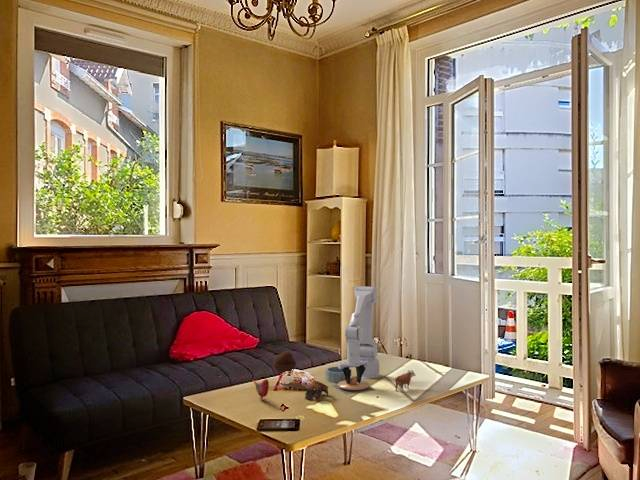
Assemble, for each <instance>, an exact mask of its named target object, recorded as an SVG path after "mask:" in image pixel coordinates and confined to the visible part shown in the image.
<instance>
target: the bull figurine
mask: <svg viewBox="0 0 640 480" xmlns="http://www.w3.org/2000/svg"><path fill="white" fill-rule="evenodd" d="M413 377H416V373H415V371H414V370H413V369H410V370H409V369H408V370H406V371H405V372H403V373H402V374H400V375H398V376H397V377H395V379H394V381H395V386H394V387H395V392H398V387H399V390H400V391H401V392H405V389H404V388H406V389H407V390H409V389H410V387H409V386H410V384H411V380H412V379H411V378H413Z"/></svg>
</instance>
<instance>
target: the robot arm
mask: <svg viewBox="0 0 640 480" xmlns="http://www.w3.org/2000/svg"><path fill="white" fill-rule="evenodd" d="M354 297H355V300H356V302H355V311H354V312H353V313H352V314H351V316H350V319H349V320H350V321H349V324H348V326H347V327H346V328H345V330H344V332H345V334H344V336H345V342H346V346H347V347H346V362H342V363H338V364H337V366H338V368H339V369H342V371H343V373H344V375H345V378H346V383H347V384H350V375H351V370H350V369H351V368H355V370H356V373H355V376H356V377H357V382H358V383H360V382H361V381H362V380H364V379H365V380H366V379H367V380H368V379H375V378H380V377H381V376H380V361H379V359H378V358H377V357H378V352H379V351H378V342H377V341H376V340H374V339H373V336H372V334H373V313H374V312H373V307H374V305H375V304H376V303H377V300H378V299H377V298H378V291H377V287H376V286H361V285H360V286H359V285H356V286H355V287H354Z"/></svg>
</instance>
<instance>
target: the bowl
mask: <svg viewBox="0 0 640 480" xmlns="http://www.w3.org/2000/svg"><path fill="white" fill-rule="evenodd" d="M350 370H351V375H350V376H353V373H352V368H350ZM325 380H326V381H327V382H329V383H334V384H335V383H336V384H338V383H339V382H341V381H344V380H346V378H345V375H344V373H343V371H342V369H339V368H338V365H335V366H329V367H326V369H325Z"/></svg>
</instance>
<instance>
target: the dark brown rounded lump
mask: <svg viewBox="0 0 640 480" xmlns="http://www.w3.org/2000/svg"><path fill="white" fill-rule="evenodd" d="M272 366H273V369H274V370H275V371H276V372H277V373H279V374H280V375H282V373H283V372H285V371H291V370H292V369H293V371H294V370H295V368H296V367H297V361H296V360H295V358H294V357H293V354H292V352H291V351H288V350H286V351H285V350H284V351H282V353H279V354H278V355H277V356H276V357H275V358H274V361H273V363H272Z"/></svg>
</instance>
